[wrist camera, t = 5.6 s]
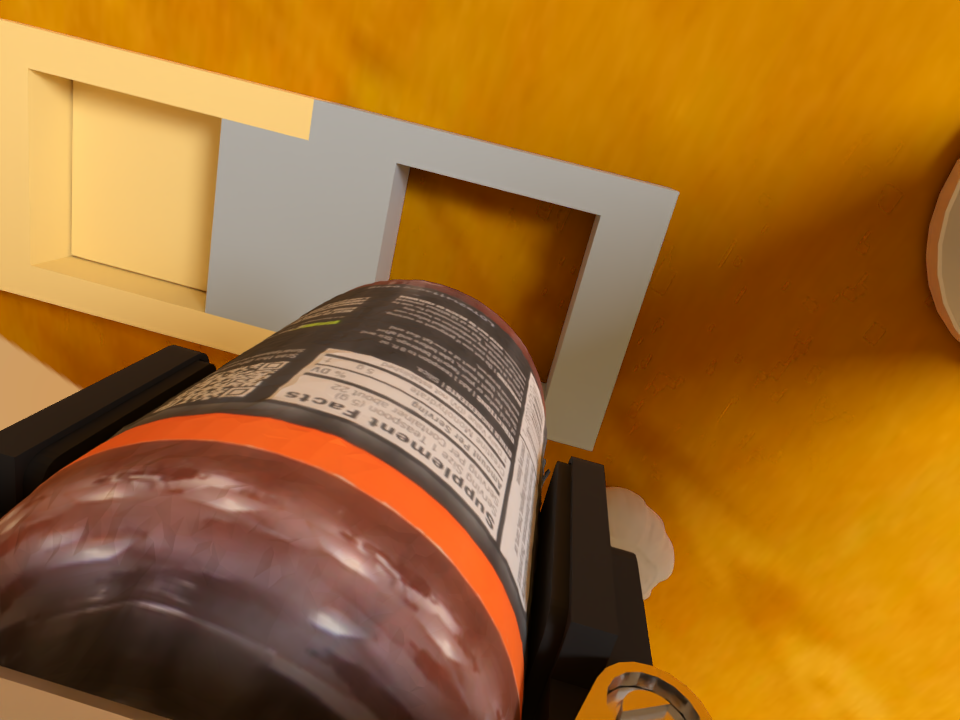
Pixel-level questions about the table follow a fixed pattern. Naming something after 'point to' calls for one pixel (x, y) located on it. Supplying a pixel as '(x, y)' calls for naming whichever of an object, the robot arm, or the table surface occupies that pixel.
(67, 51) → the beige and grey tray
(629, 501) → the garlic
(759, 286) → the table surface
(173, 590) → the supplement bottle
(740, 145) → the table surface
